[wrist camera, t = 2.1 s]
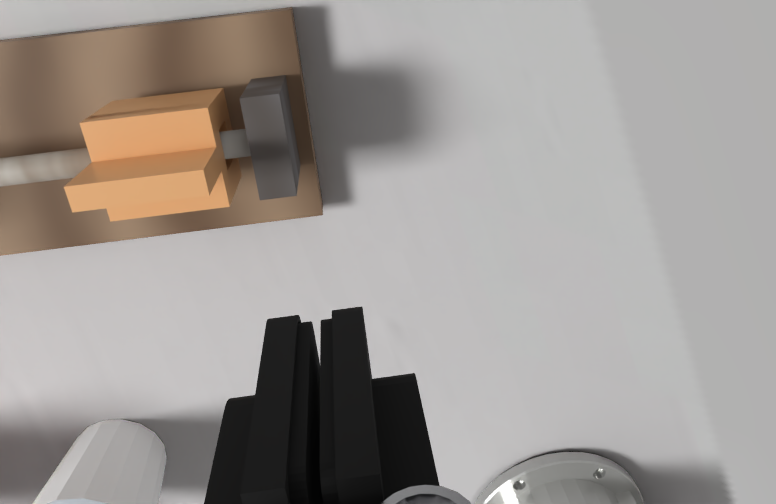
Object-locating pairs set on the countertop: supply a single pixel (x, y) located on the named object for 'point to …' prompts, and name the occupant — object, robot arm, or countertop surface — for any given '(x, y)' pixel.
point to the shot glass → (109, 467)
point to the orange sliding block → (156, 157)
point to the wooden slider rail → (143, 79)
